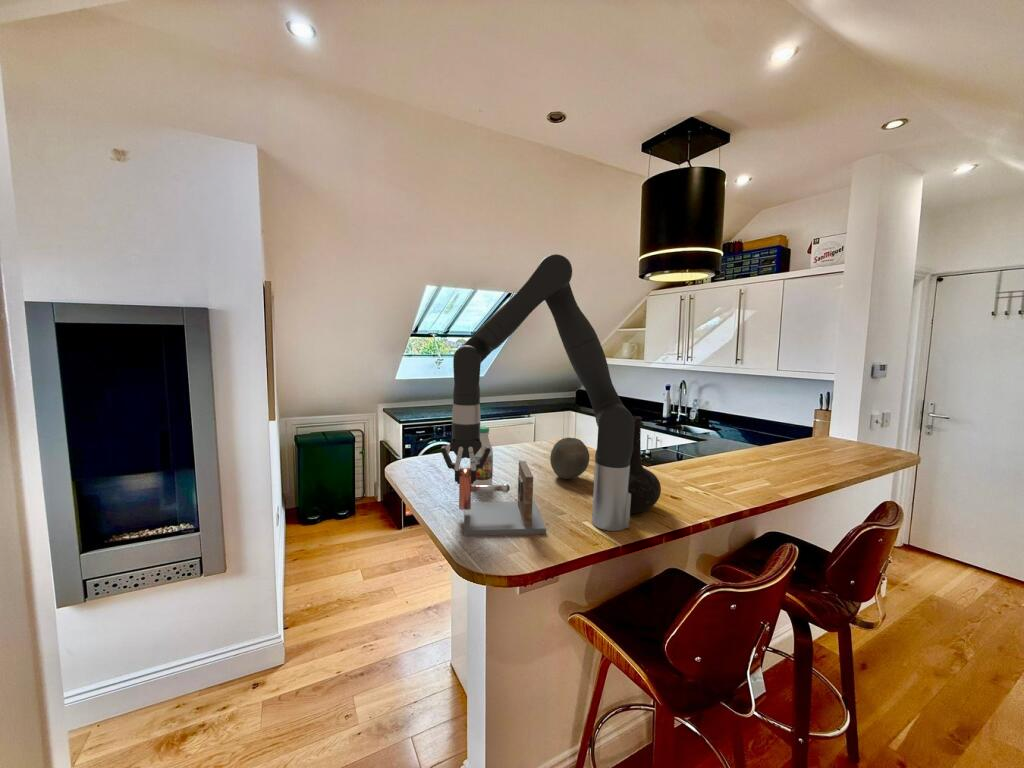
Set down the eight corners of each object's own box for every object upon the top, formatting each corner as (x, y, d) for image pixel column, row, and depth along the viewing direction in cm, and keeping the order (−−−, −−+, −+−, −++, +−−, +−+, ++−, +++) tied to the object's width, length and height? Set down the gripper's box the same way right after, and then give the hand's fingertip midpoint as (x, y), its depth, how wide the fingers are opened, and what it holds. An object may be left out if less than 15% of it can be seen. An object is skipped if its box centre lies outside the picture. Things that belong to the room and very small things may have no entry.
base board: (534, 506, 124) (534, 501, 124) (546, 534, 107) (546, 528, 106) (464, 507, 122) (464, 502, 122) (464, 535, 104) (464, 530, 104)
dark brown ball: (545, 482, 145) (547, 440, 144) (553, 470, 159) (555, 432, 157) (586, 487, 141) (588, 445, 140) (590, 475, 155) (592, 436, 153)
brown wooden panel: (524, 504, 122) (525, 461, 120) (531, 525, 108) (533, 477, 107) (515, 504, 122) (516, 461, 120) (521, 525, 108) (523, 477, 106)
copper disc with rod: (507, 499, 120) (508, 462, 118) (511, 515, 109) (512, 475, 107) (459, 500, 118) (460, 462, 117) (458, 516, 107) (459, 475, 106)
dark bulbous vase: (617, 522, 115) (622, 423, 112) (588, 498, 132) (592, 411, 129) (672, 517, 119) (679, 421, 116) (637, 494, 136) (643, 410, 133)
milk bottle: (465, 484, 141) (466, 426, 139) (482, 479, 147) (483, 423, 145) (479, 490, 136) (480, 430, 134) (496, 485, 141) (498, 427, 139)
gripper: (491, 417, 115) (490, 478, 116) (440, 417, 113) (439, 478, 115) (493, 423, 107) (491, 487, 109) (438, 423, 106) (437, 488, 107)
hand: (465, 482), depth 112 cm, fingers closed on copper disc with rod, 3 cm apart
